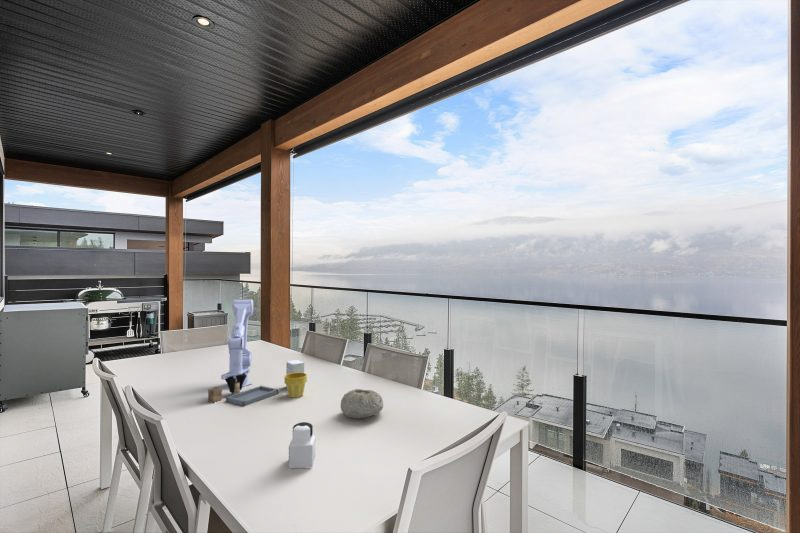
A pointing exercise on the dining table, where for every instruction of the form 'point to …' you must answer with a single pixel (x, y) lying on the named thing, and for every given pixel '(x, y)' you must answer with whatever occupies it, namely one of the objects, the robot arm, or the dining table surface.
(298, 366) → the small box
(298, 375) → the plant pot
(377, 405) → the round stone vase
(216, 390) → the walnut block
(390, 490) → the dining table surface
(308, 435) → the white boxy piece
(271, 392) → the parts tray
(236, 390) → the oak peg
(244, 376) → the robot arm
